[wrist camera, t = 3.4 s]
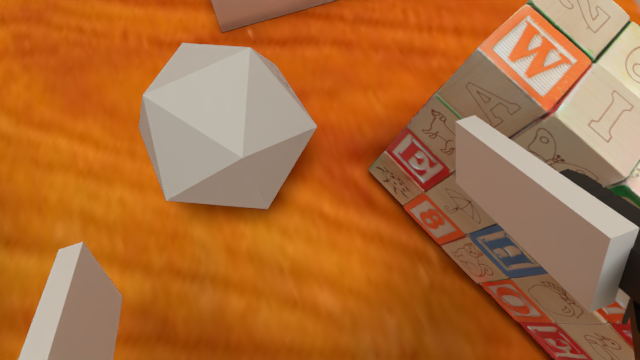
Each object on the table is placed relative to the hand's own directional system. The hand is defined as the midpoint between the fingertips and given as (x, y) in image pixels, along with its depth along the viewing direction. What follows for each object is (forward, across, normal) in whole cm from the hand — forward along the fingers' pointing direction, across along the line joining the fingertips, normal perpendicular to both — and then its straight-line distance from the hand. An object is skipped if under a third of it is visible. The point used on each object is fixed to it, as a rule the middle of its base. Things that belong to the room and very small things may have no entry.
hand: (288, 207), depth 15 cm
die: (+12, -2, -3) cm, 12 cm away
